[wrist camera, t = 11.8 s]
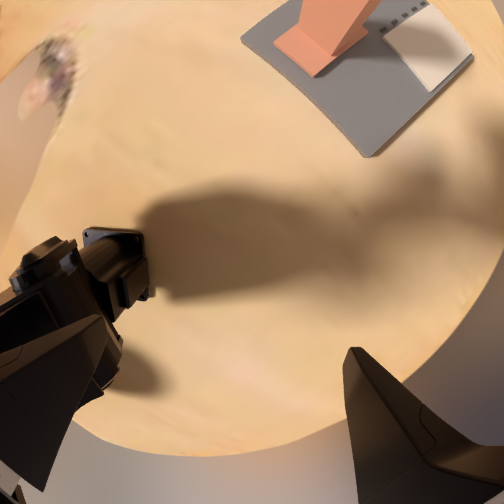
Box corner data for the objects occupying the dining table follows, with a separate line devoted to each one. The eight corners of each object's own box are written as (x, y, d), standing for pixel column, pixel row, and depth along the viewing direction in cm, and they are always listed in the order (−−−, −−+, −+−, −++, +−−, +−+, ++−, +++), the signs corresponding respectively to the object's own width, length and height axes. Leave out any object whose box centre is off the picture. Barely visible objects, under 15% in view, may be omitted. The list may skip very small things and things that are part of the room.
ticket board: (368, -38, 11) (373, -47, 9) (466, 59, 13) (476, 56, 12) (242, 43, 16) (239, 35, 14) (363, 157, 18) (370, 158, 17)
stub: (329, 3, 12) (370, -88, 2) (366, 35, 13) (439, -39, 3) (273, 44, 14) (272, -55, 4) (312, 77, 15) (360, 0, 5)
